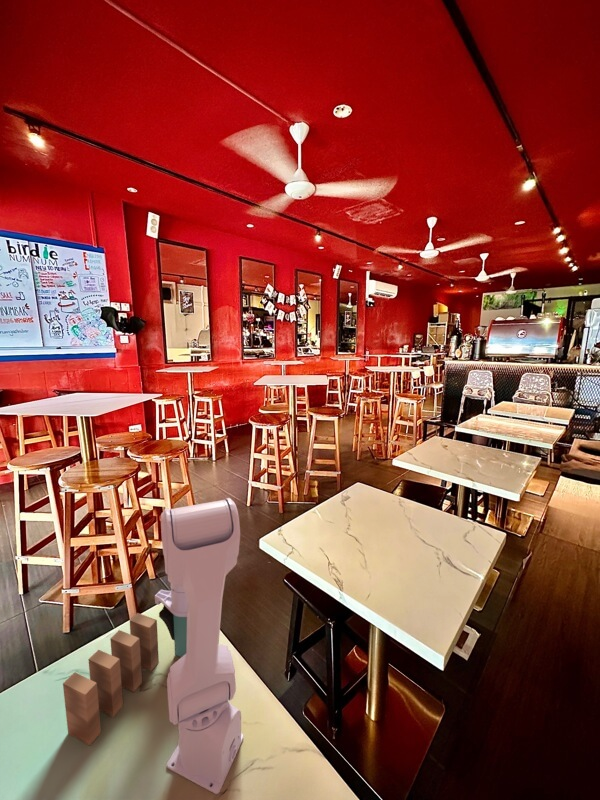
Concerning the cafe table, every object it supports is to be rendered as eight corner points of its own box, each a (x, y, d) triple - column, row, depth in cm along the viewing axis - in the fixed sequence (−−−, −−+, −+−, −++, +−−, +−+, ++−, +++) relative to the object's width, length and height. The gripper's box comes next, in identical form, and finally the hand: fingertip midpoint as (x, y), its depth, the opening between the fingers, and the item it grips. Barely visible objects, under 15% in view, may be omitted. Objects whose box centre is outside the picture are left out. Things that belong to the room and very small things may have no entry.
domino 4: (158, 662, 69) (156, 619, 67) (151, 670, 67) (149, 627, 65) (139, 654, 70) (137, 612, 69) (132, 662, 68) (129, 620, 67)
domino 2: (122, 705, 60) (119, 658, 59) (113, 717, 58) (109, 669, 57) (102, 695, 62) (98, 649, 60) (92, 706, 60) (88, 659, 58)
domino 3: (141, 682, 64) (139, 638, 63) (133, 692, 63) (130, 646, 61) (122, 673, 66) (119, 630, 64) (113, 683, 64) (110, 638, 63)
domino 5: (200, 654, 71) (199, 612, 69) (194, 662, 69) (193, 620, 67) (181, 646, 72) (179, 606, 71) (174, 654, 70) (173, 613, 69)
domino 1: (100, 732, 56) (96, 682, 54) (90, 745, 54) (85, 694, 53) (79, 720, 58) (74, 672, 56) (68, 733, 56) (62, 683, 54)
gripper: (227, 579, 69) (227, 635, 71) (170, 562, 74) (172, 616, 76) (207, 603, 63) (208, 664, 65) (146, 583, 67) (149, 641, 69)
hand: (187, 640), depth 70 cm, fingers closed on domino 5, 5 cm apart
